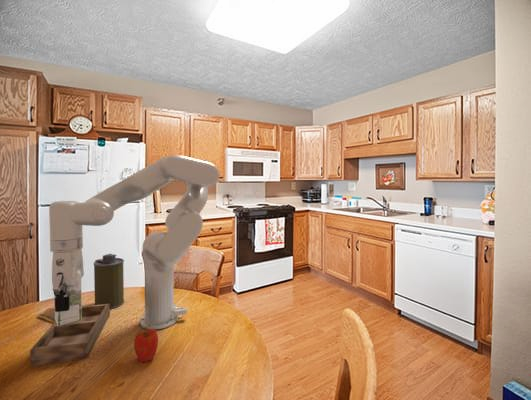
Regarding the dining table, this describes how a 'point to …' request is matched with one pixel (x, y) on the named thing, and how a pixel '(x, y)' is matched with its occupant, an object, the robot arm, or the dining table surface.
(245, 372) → the dining table surface
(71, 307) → the syrup box
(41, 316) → the shard
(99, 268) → the canister
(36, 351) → the tray
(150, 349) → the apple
